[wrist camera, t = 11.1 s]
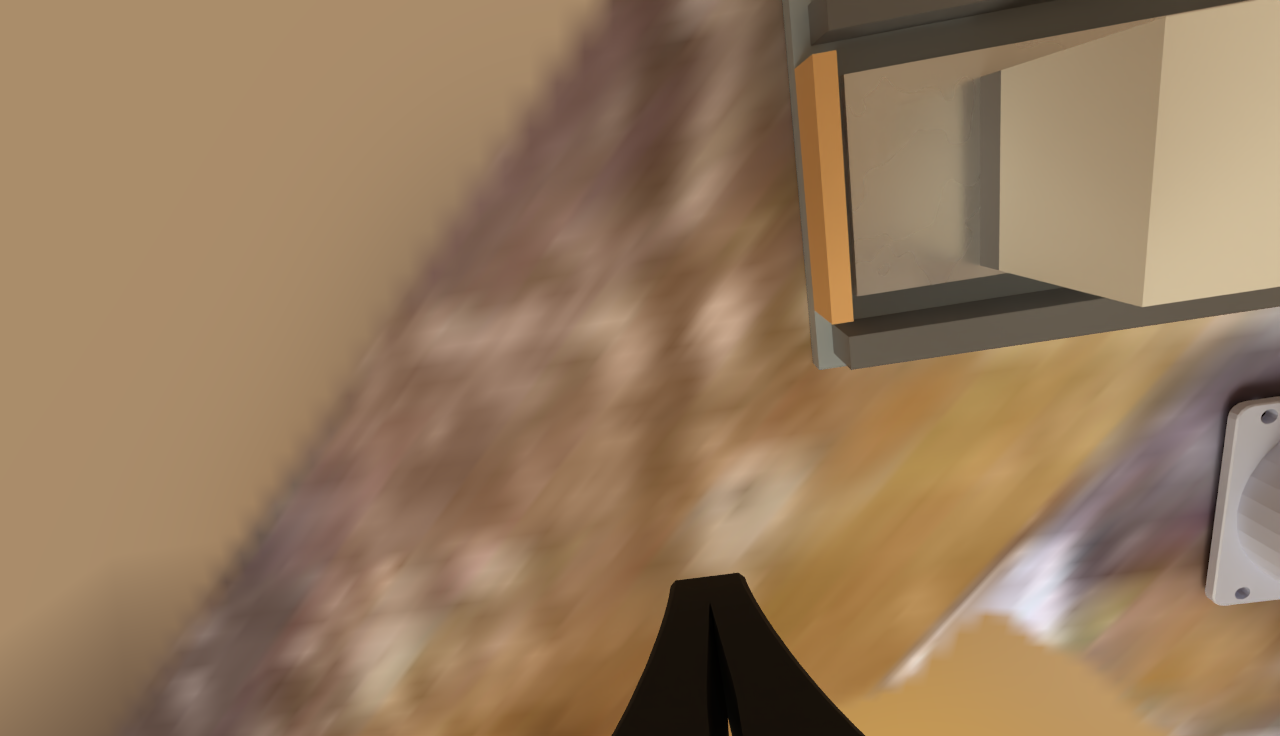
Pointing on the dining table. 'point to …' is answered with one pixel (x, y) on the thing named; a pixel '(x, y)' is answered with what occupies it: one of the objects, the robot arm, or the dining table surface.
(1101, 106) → the block
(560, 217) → the dining table surface
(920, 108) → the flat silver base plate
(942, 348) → the rail panel
